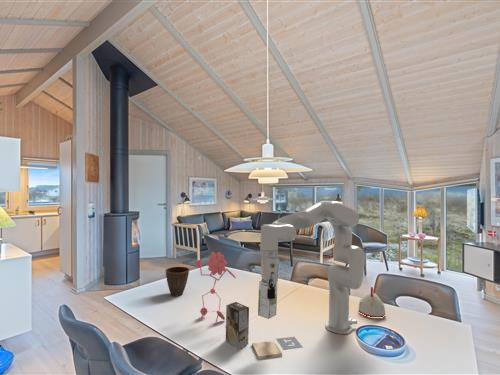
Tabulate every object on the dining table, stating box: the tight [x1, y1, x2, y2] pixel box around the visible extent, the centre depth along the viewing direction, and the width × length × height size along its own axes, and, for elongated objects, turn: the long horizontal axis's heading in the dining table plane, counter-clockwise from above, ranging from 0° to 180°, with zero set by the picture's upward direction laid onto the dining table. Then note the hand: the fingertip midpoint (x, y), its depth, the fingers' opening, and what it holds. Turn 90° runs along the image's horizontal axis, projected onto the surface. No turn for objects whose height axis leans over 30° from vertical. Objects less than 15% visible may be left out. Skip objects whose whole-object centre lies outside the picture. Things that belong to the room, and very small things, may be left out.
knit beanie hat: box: [358, 286, 386, 317], centre depth 159 cm, size 14×14×15 cm
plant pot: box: [165, 266, 190, 297], centre depth 181 cm, size 15×15×16 cm
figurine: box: [194, 251, 237, 328], centre depth 149 cm, size 15×26×35 cm, turn 64°
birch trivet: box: [251, 340, 283, 360], centre depth 117 cm, size 10×10×1 cm
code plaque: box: [276, 336, 304, 350], centre depth 124 cm, size 9×9×1 cm
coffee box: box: [225, 301, 250, 350], centre depth 124 cm, size 9×6×16 cm
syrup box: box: [257, 280, 278, 320], centre depth 118 cm, size 6×6×14 cm
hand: (267, 294), depth 118 cm, fingers closed on syrup box, 7 cm apart
